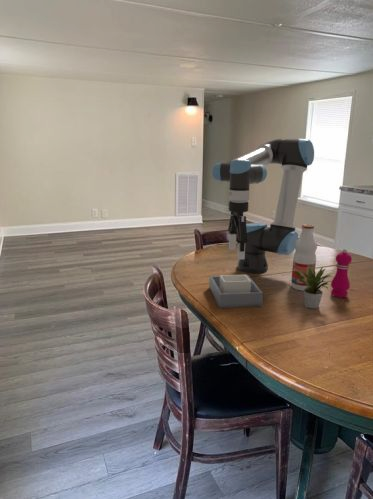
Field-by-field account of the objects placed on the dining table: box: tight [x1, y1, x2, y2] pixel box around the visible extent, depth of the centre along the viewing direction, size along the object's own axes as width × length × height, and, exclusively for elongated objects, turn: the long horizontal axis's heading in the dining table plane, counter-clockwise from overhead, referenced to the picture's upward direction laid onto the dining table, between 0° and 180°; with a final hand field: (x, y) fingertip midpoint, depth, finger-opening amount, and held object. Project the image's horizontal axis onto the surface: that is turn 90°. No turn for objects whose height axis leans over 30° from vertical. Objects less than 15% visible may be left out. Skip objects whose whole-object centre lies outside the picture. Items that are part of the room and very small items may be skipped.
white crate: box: [219, 274, 251, 293], centre depth 153 cm, size 11×8×7 cm
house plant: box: [298, 266, 336, 309], centre depth 142 cm, size 14×14×16 cm
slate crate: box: [208, 274, 264, 309], centre depth 153 cm, size 17×21×6 cm
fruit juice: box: [290, 223, 318, 292], centre depth 162 cm, size 9×9×28 cm
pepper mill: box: [330, 248, 353, 298], centre depth 155 cm, size 7×7×20 cm
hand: (236, 254), depth 149 cm, fingers open, 13 cm apart
